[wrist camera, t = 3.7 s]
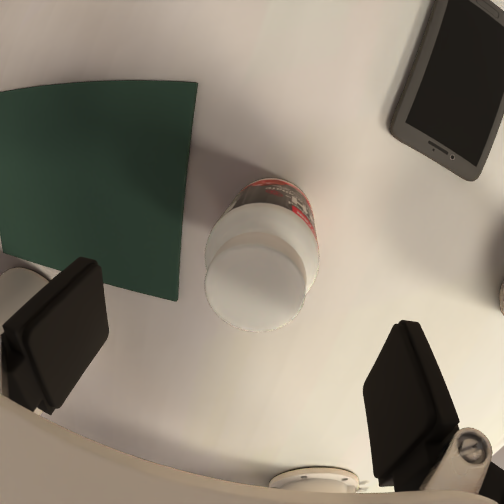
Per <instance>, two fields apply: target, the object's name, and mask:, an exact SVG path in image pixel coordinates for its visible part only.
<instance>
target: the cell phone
mask: <svg viewBox="0 0 504 504" xmlns="http://www.w3.org/2000/svg"><path fill="white" fill-rule="evenodd" d="M503 114H504V11H503V10H502V9H500V8H499V7H498V6H497V5H495V4H494V3H493V2H492V1H490V0H435V3H434V6H433V9H432V12H431V15H430V18H429V21H428V24H427V27H426V30H425V33H424V36H423V39H422V42H421V45H420V48H419V50H418V53H417V56H416V59H415V61H414V64H413V67H412V70H411V72H410V75H409V77H408V80H407V83H406V85H405V88H404V90H403V93H402V95H401V98H400V101H399V103H398V106H397V108H396V110H395V113H394V116H393V119H392V122H391V127H390V130H391V133H392V134H393V136H394V137H395V138H396V139H398V140H399V141H400V142H402V143H404V144H406V145H408V146H409V147H411V148H413V149H415V150H417V151H418V152H420V153H422V154H423V155H425V156H427V157H429V158H430V159H432V160H434V161H435V162H437V163H439V164H440V165H442V166H443V167H445V168H447V169H448V170H450V171H451V172H453V173H455V174H456V175H458V176H459V177H461V178H462V179H464V180H466V181H475V180H476V179H477V178H478V177H479V175H480V174H481V172H482V169H483V167H484V165H485V163H486V160H487V158H488V155H489V153H490V150H491V148H492V145H493V142H494V140H495V137H496V134H497V132H498V129H499V126H500V123H501V120H502V117H503Z"/></svg>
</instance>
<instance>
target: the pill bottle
mask: <svg viewBox="0 0 504 504" xmlns="http://www.w3.org/2000/svg"><path fill="white" fill-rule="evenodd" d="M205 265H206V269H207V272H206V276H205V293H206V297H207V300H208V302H209V304H210V306H211V308H212V309H213V311H214V312H215V313H216V314H217V315H218V316H219V317H220V318H221V319H222V320H223V321H225V322H226V323H228V324H230V325H231V326H233V327H235V328H238V329H241V330H245V331H250V332H267V331H272V330H276V329H278V328H281V327H283V326H284V325H286V324H288V323H289V322H290V321H291V320H293V319H294V318H295V316H296V315H297V314H298V313H299V311H300V309H301V307H302V306H303V303H304V299H305V294H306V293H307V292H308V291H309V289H310V288H311V286H312V285H313V283H314V281H315V278H316V276H317V272H318V268H319V248H318V242H317V236H316V230H315V224H314V217H313V212H312V208H311V205H310V203H309V201H308V199H307V197H306V196H305V194H304V193H303V192H302V191H301V190H300V189H299V188H298V187H296V186H295V185H293V184H292V183H290V182H288V181H285V180H282V179H276V178H266V179H261V180H257V181H254V182H252V183H251V184H249V185H247V186H246V187H245V188H244V189H243V190H242V191H241V192H240V193H239V194H238V195H237V196H236V198H235V199H234V200H233V202H232V203H231V205H230V206H229V207H228V208H227V210H226V211H225V212H224V214H223V215H222V216H221V218H220V219H219V220H218V221H217V223H216V224H215V226H214V227H213V229H212V230H211V233H210V235H209V237H208V240H207V244H206V248H205Z"/></svg>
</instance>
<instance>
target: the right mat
mask: <svg viewBox="0 0 504 504" xmlns="http://www.w3.org/2000/svg"><path fill="white" fill-rule="evenodd" d="M197 88H198V83H195V82H178V81H146V80H125V81H93V82H77V83H65V84H54V85H45V86H37V87H30V88H23V89H16V90H10V91H4V92H0V236H1V243H2V249H3V253H6V254H9V255H12V256H15V257H18V258H21V259H24V260H27V261H30V262H34V263H37V264H40V265H43V266H46V267H50V268H53V269H56V270H60V271H63V270H64V269H65V268H66V267H67V266H69V265H70V264H71V263H72V262H73V261H75V260H76V259H77V258H78V257H86V258H90V259H94V260H96V261H97V262H98V265H100V266H101V268H102V276H103V283H105V284H109V285H112V286H116V287H120V288H124V289H127V290H131V291H135V292H139V293H143V294H147V295H151V296H155V297H159V298H163V299H167V300H172V301H177V300H178V287H179V267H180V250H181V235H182V221H183V209H184V197H185V186H186V176H187V166H188V157H189V148H190V140H191V132H192V124H193V116H194V109H195V101H196V94H197Z"/></svg>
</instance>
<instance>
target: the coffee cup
mask: <svg viewBox="0 0 504 504" xmlns="http://www.w3.org/2000/svg"><path fill="white" fill-rule="evenodd" d="M499 301H500V308H501V312H502V313H503V315H504V281H503V283H502V285H501V289H500V296H499Z"/></svg>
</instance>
